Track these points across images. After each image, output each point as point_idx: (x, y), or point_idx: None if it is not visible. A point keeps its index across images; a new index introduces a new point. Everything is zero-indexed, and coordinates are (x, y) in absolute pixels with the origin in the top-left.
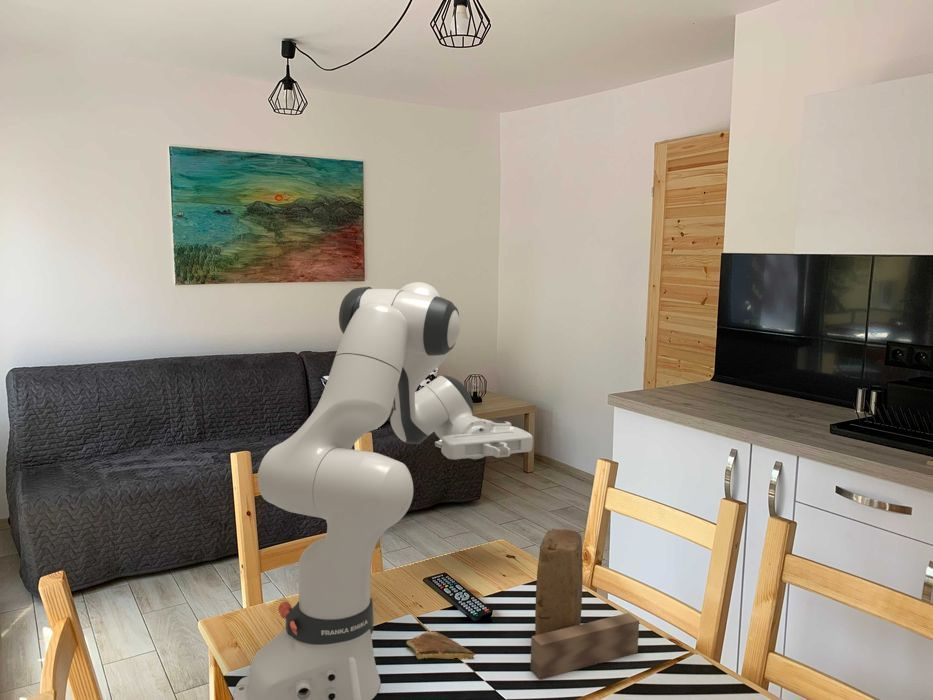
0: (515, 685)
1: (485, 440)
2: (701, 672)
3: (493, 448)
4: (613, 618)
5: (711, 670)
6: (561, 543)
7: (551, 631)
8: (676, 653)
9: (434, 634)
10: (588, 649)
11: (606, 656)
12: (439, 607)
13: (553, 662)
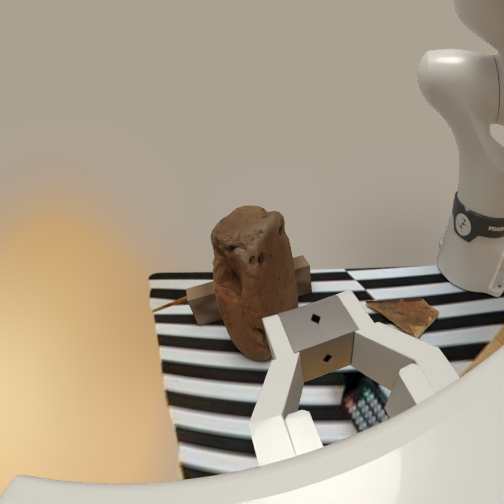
0: (328, 275)
1: (455, 385)
2: (165, 290)
3: (376, 325)
4: (209, 292)
5: (156, 291)
6: (253, 210)
7: None
8: (164, 311)
9: (414, 328)
10: None
11: None
12: None
13: None
